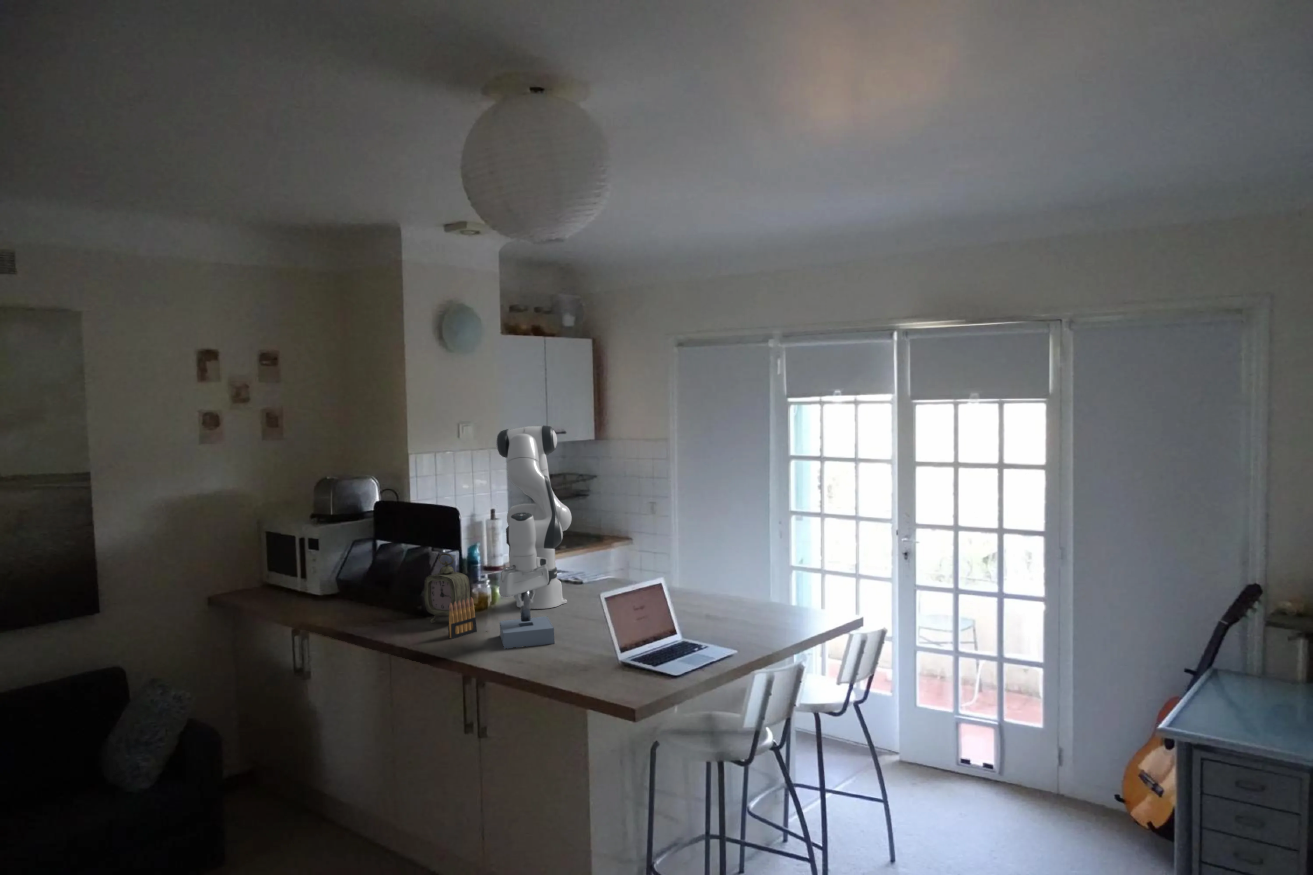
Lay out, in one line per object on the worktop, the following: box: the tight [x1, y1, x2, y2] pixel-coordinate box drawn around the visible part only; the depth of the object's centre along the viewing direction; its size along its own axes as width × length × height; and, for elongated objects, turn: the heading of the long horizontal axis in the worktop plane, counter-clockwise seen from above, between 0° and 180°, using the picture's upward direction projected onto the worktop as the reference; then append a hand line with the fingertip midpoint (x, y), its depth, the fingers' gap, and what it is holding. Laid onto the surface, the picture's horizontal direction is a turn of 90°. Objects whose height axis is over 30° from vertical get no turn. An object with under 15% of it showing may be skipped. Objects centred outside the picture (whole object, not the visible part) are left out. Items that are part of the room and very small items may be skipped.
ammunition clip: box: [447, 596, 478, 640], centre depth 287 cm, size 11×2×12 cm, turn 142°
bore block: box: [499, 615, 555, 650], centre depth 279 cm, size 16×16×5 cm
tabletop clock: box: [423, 552, 471, 624], centre depth 304 cm, size 14×9×25 cm, turn 62°
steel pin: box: [519, 591, 532, 622], centre depth 278 cm, size 3×3×10 cm
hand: (525, 604), depth 278 cm, fingers closed on steel pin, 3 cm apart
